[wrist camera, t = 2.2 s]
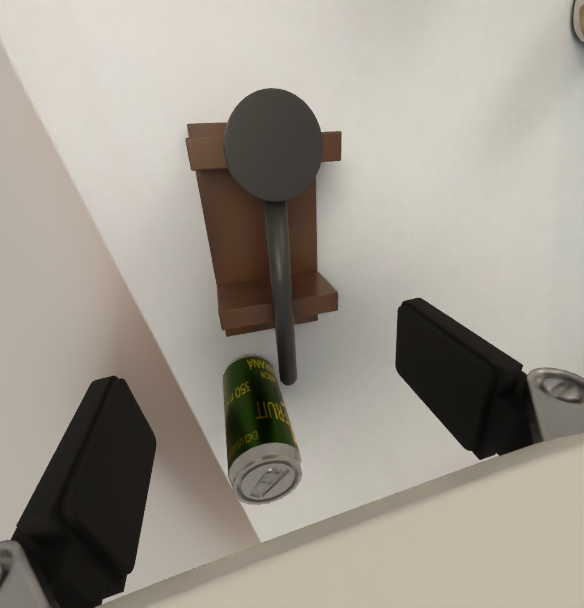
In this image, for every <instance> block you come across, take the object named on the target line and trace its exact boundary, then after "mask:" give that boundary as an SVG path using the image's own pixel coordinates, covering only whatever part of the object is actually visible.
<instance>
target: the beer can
mask: <svg viewBox="0 0 584 608" xmlns="http://www.w3.org/2000/svg"><path fill="white" fill-rule="evenodd" d="M223 395H224V412H225V428H226V444H227V460H228V477H229V480H230V482H231V484H232V486H233V492H234V495H235V497H236V498H237V499H239V500H240V501H241V502H244V503H247V504H256V505H260V504H266V503H271V502H273V501H276V500H279V499H281V498H283V497H284V496H286V495H288V494H289V493H290V492H291V491H293V490H294V489H295V488H296V487H297V485H298V484H299V482H300V480H301V476H302V471H301V467H300V465H301V457H300V453H299V449H298V446H297V443H296V440H295V436H294V433H293V430H292V427H291V423H290V420H289V417H288V414H287V410H286V407H285V404H284V401H283V397H282V394H281V391H280V388H279V384H278V381H277V378H276V375H275V371H274V368H273V366H272V365H271V364H270V362H269V361H267V360H266V359H264V358H262V357H261V356H258V355H244V356H241V357H238V358H237V359H235V360H233V361H232V362H231V363H230V364H229V366H228V367H227V369H226V370H225V373H224V375H223Z"/></svg>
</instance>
